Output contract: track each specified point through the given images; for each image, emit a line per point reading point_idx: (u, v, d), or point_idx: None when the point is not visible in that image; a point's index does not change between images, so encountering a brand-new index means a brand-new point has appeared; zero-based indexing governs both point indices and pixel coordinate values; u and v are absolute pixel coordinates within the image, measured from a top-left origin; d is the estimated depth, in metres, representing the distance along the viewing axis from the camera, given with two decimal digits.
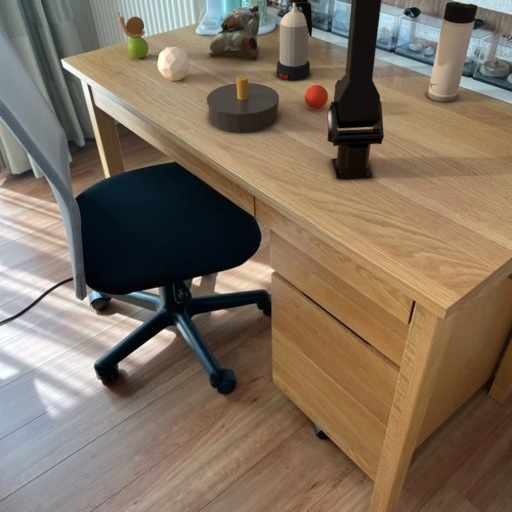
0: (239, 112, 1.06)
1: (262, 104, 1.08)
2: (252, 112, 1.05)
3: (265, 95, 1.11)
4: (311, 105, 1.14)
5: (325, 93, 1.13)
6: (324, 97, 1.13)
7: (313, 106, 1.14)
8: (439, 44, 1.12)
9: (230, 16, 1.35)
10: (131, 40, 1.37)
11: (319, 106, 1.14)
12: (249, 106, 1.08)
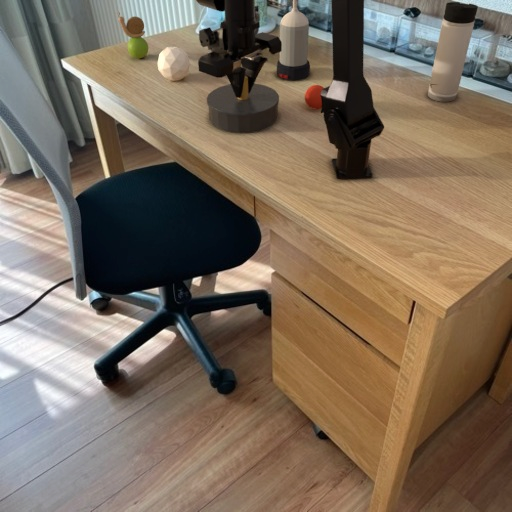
0: (239, 112, 1.06)
1: (262, 104, 1.08)
2: (252, 112, 1.05)
3: (265, 95, 1.11)
4: (311, 105, 1.14)
5: None
6: None
7: (313, 106, 1.14)
8: (439, 44, 1.12)
9: None
10: (131, 40, 1.37)
11: (319, 106, 1.14)
12: (249, 106, 1.08)
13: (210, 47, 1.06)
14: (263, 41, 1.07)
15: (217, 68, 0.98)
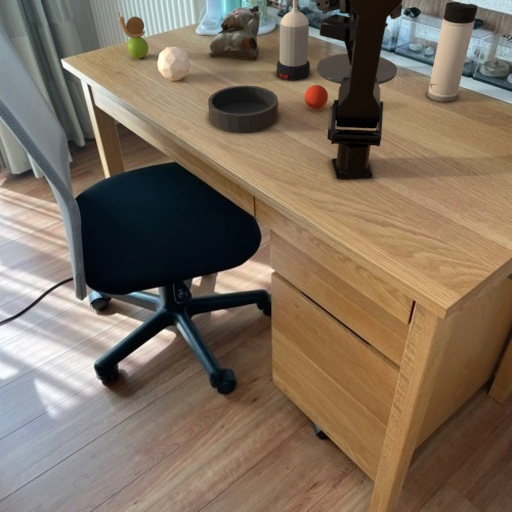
0: None
1: (381, 74, 0.99)
2: None
3: (381, 65, 1.02)
4: (311, 105, 1.14)
5: (325, 93, 1.13)
6: (324, 97, 1.13)
7: (313, 106, 1.14)
8: (439, 44, 1.12)
9: (230, 16, 1.35)
10: (131, 40, 1.37)
11: (319, 106, 1.14)
12: None
13: (326, 11, 0.97)
14: None
15: (346, 31, 0.89)
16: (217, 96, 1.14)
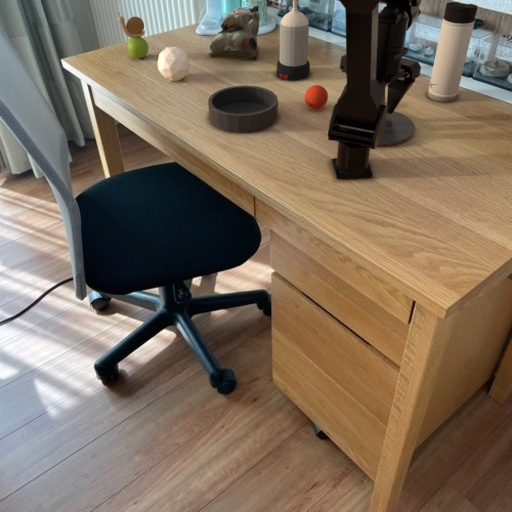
0: (380, 141, 1.02)
1: (400, 132, 1.05)
2: (394, 141, 1.02)
3: (399, 122, 1.08)
4: (311, 105, 1.14)
5: (325, 93, 1.13)
6: (324, 97, 1.13)
7: (313, 106, 1.14)
8: (439, 44, 1.12)
9: (230, 16, 1.35)
10: (131, 40, 1.37)
11: (319, 106, 1.14)
12: (387, 134, 1.04)
13: None
14: (404, 66, 1.03)
15: None
16: (217, 96, 1.14)
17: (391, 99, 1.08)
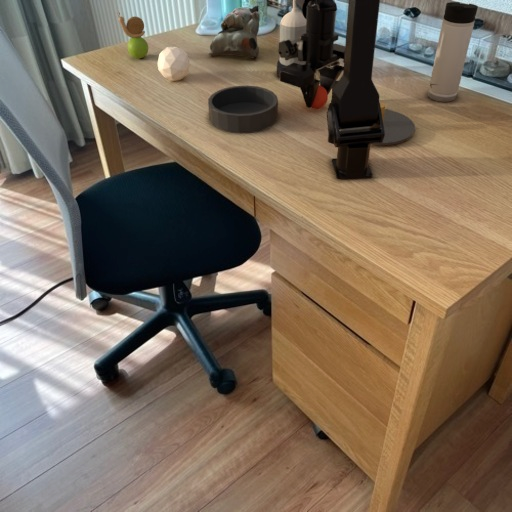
0: None
1: (400, 132, 1.05)
2: (394, 141, 1.02)
3: (399, 122, 1.08)
4: None
5: (325, 93, 1.13)
6: (324, 97, 1.13)
7: (313, 106, 1.14)
8: (439, 44, 1.12)
9: (230, 16, 1.35)
10: (131, 40, 1.37)
11: (319, 106, 1.14)
12: (387, 134, 1.04)
13: (287, 58, 1.12)
14: (338, 52, 1.12)
15: (300, 79, 1.03)
16: (217, 96, 1.14)
17: (323, 86, 1.15)
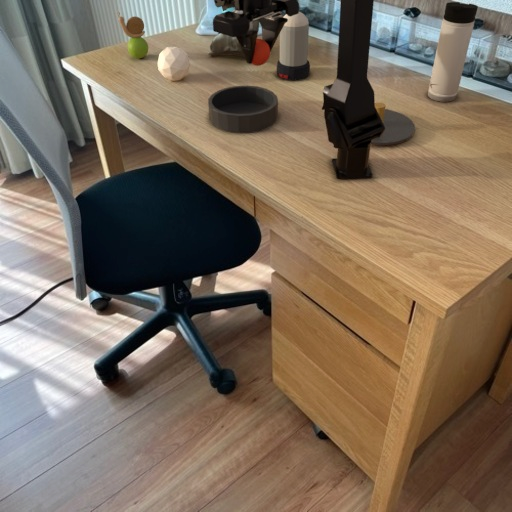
0: (380, 141, 1.02)
1: (400, 132, 1.05)
2: (394, 141, 1.02)
3: (399, 122, 1.08)
4: None
5: (266, 47, 1.04)
6: (265, 52, 1.04)
7: (254, 62, 1.05)
8: (439, 44, 1.12)
9: None
10: (131, 40, 1.37)
11: (260, 62, 1.05)
12: (387, 134, 1.04)
13: (225, 8, 1.02)
14: (280, 2, 1.03)
15: (233, 27, 0.94)
16: (217, 96, 1.14)
17: (265, 40, 1.06)
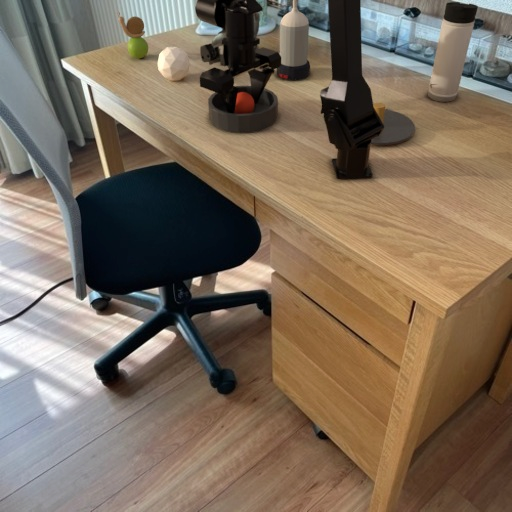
0: (380, 141, 1.02)
1: (400, 132, 1.05)
2: (394, 141, 1.02)
3: (399, 122, 1.08)
4: (237, 113, 1.11)
5: (250, 100, 1.10)
6: (249, 105, 1.10)
7: None
8: (439, 44, 1.12)
9: None
10: (131, 40, 1.37)
11: None
12: (387, 134, 1.04)
13: (211, 62, 1.08)
14: (263, 56, 1.09)
15: (218, 84, 1.00)
16: (217, 96, 1.14)
17: (254, 89, 1.13)
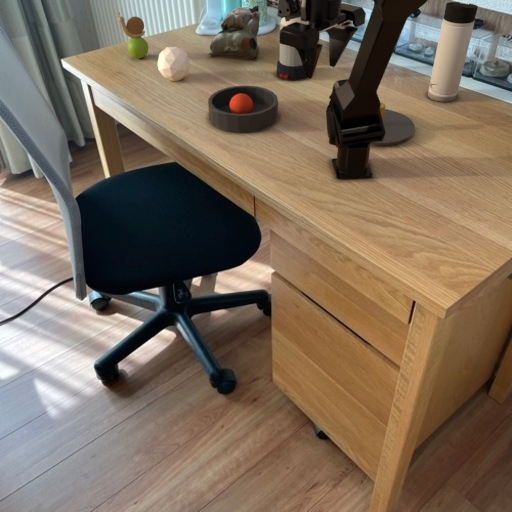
0: (380, 141, 1.02)
1: (400, 132, 1.05)
2: (394, 141, 1.02)
3: (399, 122, 1.08)
4: None
5: (248, 103, 1.09)
6: (248, 108, 1.10)
7: None
8: (439, 44, 1.12)
9: (230, 16, 1.35)
10: (131, 40, 1.37)
11: None
12: (387, 134, 1.04)
13: (288, 18, 0.97)
14: (346, 12, 0.97)
15: (303, 39, 0.89)
16: (217, 96, 1.14)
17: (332, 50, 1.01)
